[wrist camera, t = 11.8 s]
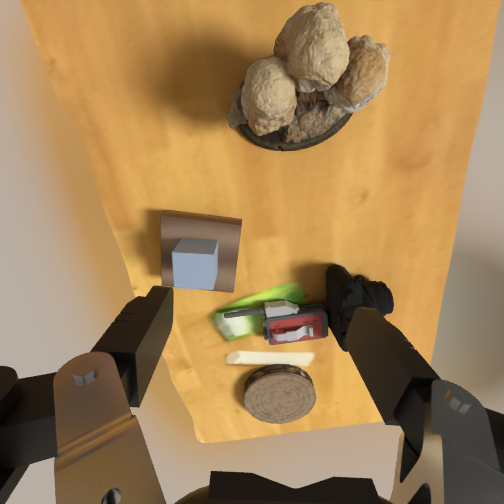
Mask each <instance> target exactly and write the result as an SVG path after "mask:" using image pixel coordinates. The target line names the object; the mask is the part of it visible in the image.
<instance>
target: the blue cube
mask: <svg viewBox="0 0 504 504" xmlns="http://www.w3.org/2000/svg"><path fill="white" fill-rule="evenodd" d="M172 261H173V276H174V288H184V289H204V290H213V289H214V285H215V281H216V276H217V272H218V240H203V239H186V238H182V239H181V240H180V242H179V243H178V245H177V246H176V247H175V249H174V250H173V252H172Z"/></svg>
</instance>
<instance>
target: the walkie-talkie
mask: <svg viewBox="0 0 504 504" xmlns="http://www.w3.org/2000/svg"><path fill="white" fill-rule="evenodd" d="M324 307H329V305H328V304H320V303H319V304H312V305H305V306H298V304H293V303H291V302H289V301H286V300H282V301H275V302H265V306H264V307H259V308H255V309H248V310H241V311H237V312H231V313H225V314H224V317H225V318H232V317H239V316H246V315H253V314H264V315H262V319H265V322H263V326H265V327H266V328H267V330H266V328H265V329H263V332H264V339H265V340H267V339H269V344H270V345H276V344H283V343H291V342H297V341H305V340H311V339H319V338H325V337H327V336H328V320H327V313H326V312H329V309H328V308H327V309H324Z"/></svg>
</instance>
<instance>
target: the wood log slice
mask: <svg viewBox="0 0 504 504" xmlns="http://www.w3.org/2000/svg"><path fill="white" fill-rule="evenodd" d="M315 401H316V394H315V389H314V386H313V382H312V379H311V378H310V376H309V375H308V374H307V372H305V371H304V370H302V369H301V368H299V367H296V366H292V365H289V364H275V365H269V366H265V367H263V368H261V369H259V370H257V371H256V372H254V373H253V374H252V375H251V376H250V377H249V378H248V380H247V382H246V383H245V390H244V404H245V407H246V409H247V411H248V412H249V413H250V414H251V415H252V416H253V417H255V418H256V419H258V420H260V421H263V422H267V423H276V424H282V423H288V422H293V421H295V420H298V419H300V418H302V417H303V416H305V415H306V414H308V413H309V412H310V410H311V409H312V408H313V407H314V405H315Z"/></svg>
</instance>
